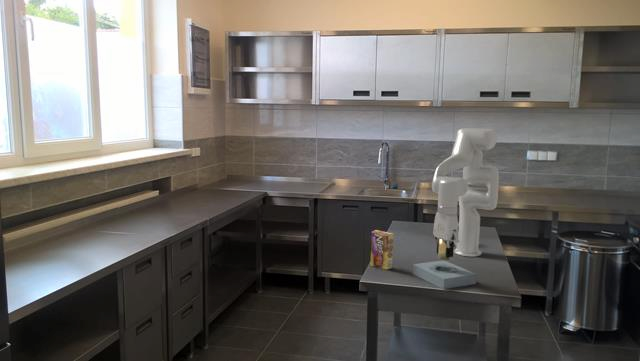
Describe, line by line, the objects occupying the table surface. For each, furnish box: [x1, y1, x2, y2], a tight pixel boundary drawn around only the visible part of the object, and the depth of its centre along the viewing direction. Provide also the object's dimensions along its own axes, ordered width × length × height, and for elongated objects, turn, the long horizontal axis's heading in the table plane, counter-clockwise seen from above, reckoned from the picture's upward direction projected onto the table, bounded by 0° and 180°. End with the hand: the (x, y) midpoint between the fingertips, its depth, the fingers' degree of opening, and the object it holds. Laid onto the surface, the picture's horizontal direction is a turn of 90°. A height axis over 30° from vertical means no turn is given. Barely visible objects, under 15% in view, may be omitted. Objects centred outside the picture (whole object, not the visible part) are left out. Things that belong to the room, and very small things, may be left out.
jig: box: [412, 259, 478, 290], centre depth 213 cm, size 20×16×4 cm
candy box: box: [370, 229, 395, 270], centre depth 226 cm, size 9×4×15 cm, turn 47°
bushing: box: [437, 238, 452, 261], centre depth 211 cm, size 5×5×8 cm
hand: (444, 254), depth 211 cm, fingers closed on bushing, 5 cm apart
